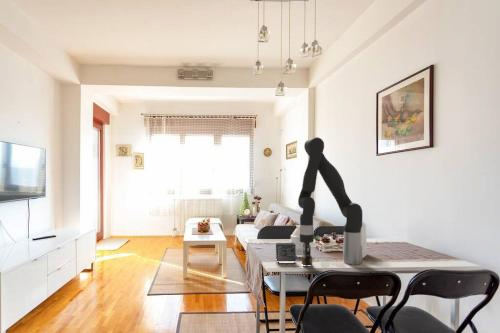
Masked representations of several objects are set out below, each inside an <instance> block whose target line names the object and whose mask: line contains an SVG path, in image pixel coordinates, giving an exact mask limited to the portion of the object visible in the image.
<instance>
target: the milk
mask: <svg viewBox="0 0 500 333" xmlns="http://www.w3.org/2000/svg"><path fill="white" fill-rule="evenodd" d="M345 225H346V223H344V226H345ZM344 226H343V227H344ZM366 227H367V225H366V223H365V221H363V220H362V228H361V246H362V259H364V258H365V257H366V256H368V247H367V246H368V244H367V228H366ZM342 242H343V244H342V246H343V247H342V257H344V239H343V241H342Z"/></svg>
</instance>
